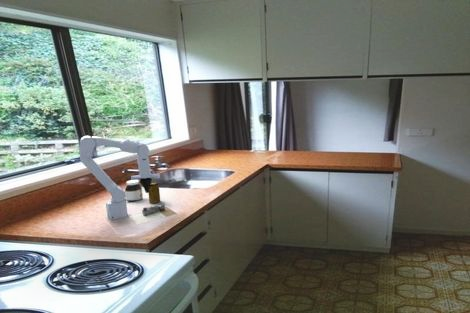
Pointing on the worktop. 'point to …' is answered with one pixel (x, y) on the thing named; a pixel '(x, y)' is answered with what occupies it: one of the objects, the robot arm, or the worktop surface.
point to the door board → (152, 216)
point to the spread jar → (133, 191)
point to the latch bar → (153, 209)
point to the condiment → (154, 193)
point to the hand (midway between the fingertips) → (147, 192)
